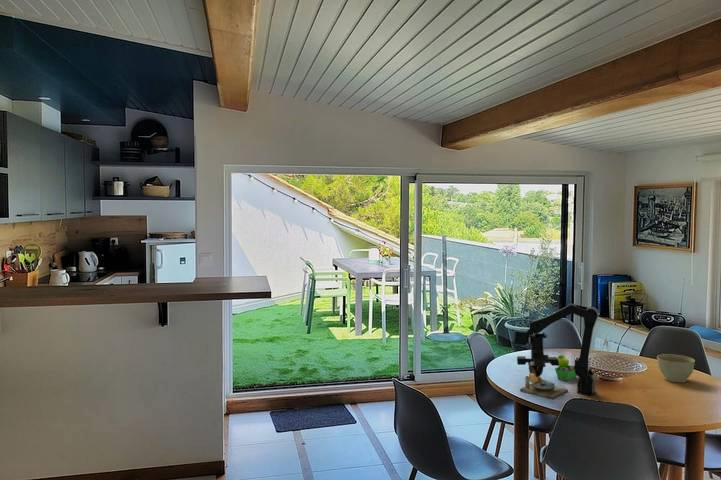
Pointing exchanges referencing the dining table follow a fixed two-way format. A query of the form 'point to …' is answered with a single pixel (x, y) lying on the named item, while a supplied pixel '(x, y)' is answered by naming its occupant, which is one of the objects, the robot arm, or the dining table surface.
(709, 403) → the dining table surface
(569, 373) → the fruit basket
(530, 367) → the cup
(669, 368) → the planter bowl
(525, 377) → the dowel pin
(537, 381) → the flange plate
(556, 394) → the post board
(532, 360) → the robot arm
